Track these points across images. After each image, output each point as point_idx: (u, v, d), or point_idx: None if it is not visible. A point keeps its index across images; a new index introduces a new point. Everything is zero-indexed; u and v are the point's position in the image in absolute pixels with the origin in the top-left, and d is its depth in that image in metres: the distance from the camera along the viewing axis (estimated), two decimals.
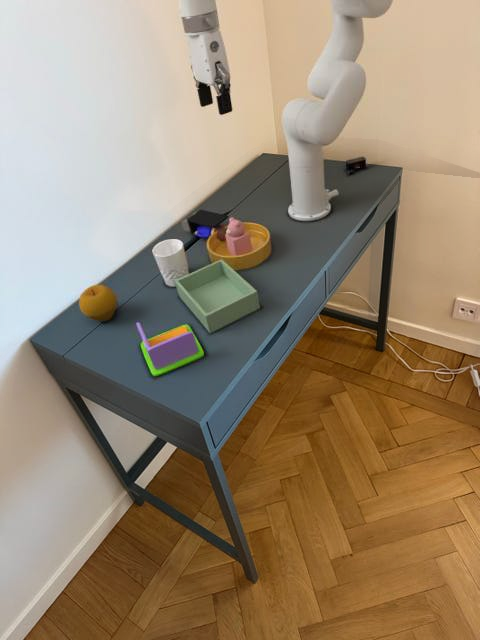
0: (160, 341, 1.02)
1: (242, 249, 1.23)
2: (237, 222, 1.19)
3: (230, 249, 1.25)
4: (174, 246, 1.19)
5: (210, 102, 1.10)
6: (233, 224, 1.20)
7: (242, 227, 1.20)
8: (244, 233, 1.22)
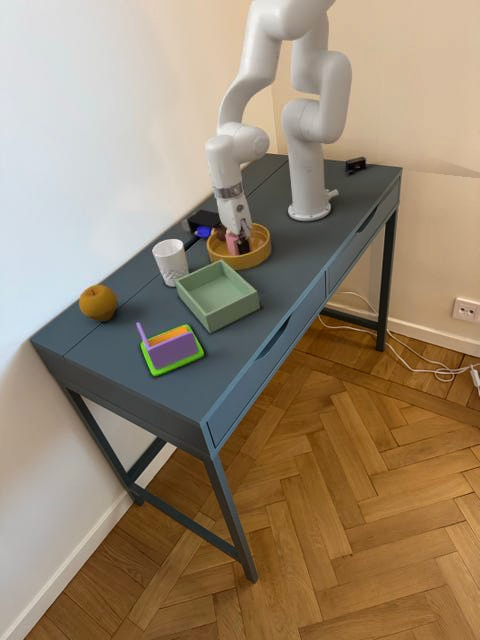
0: (160, 341, 1.02)
1: None
2: None
3: (230, 249, 1.25)
4: (174, 245, 1.19)
5: None
6: None
7: None
8: None
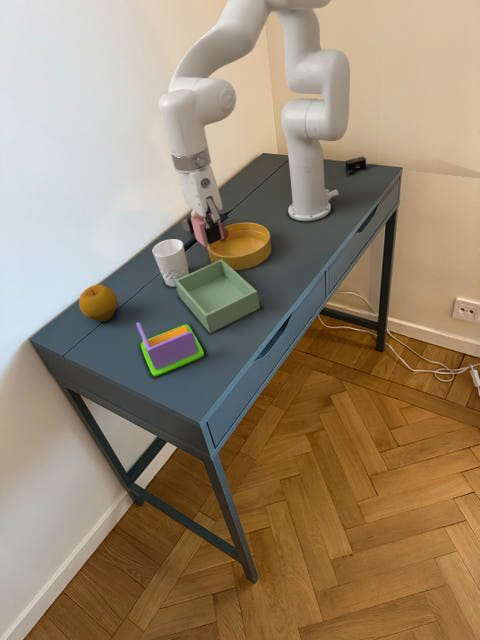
0: (160, 341, 1.02)
1: None
2: None
3: (197, 235, 1.03)
4: (174, 245, 1.19)
5: None
6: None
7: None
8: None
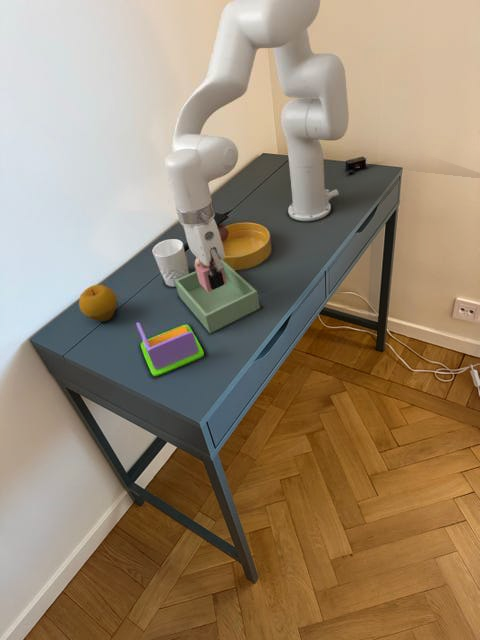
0: (160, 341, 1.02)
1: None
2: None
3: (200, 280, 1.07)
4: (174, 246, 1.19)
5: None
6: None
7: None
8: None
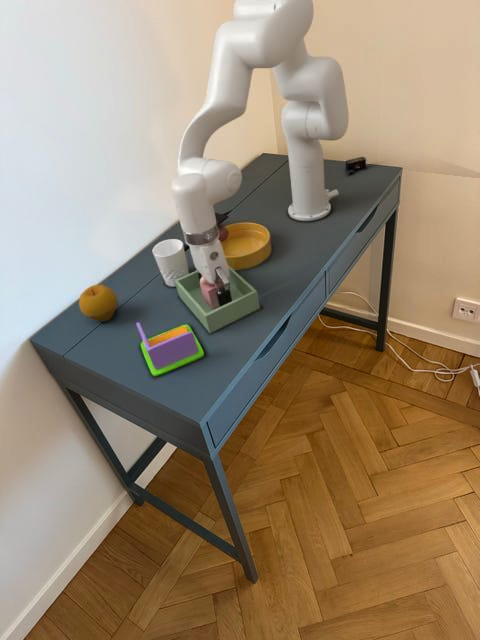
0: (160, 341, 1.02)
1: None
2: None
3: (205, 298, 1.10)
4: (174, 246, 1.19)
5: None
6: None
7: None
8: None
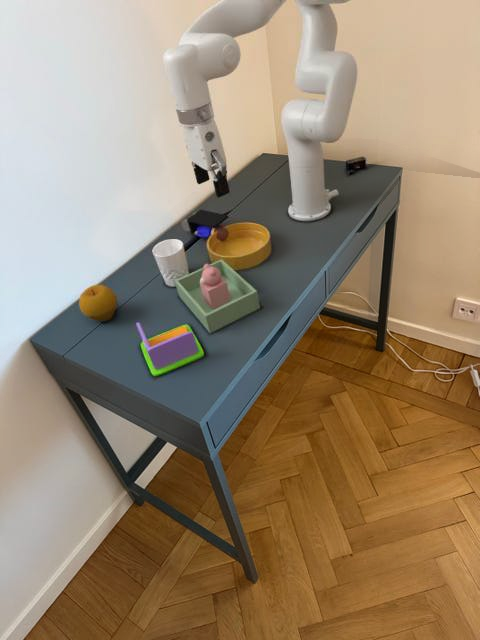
0: (160, 341, 1.02)
1: (219, 299, 1.08)
2: (212, 270, 1.04)
3: (205, 298, 1.10)
4: (174, 246, 1.19)
5: (207, 179, 1.10)
6: (208, 273, 1.05)
7: (218, 275, 1.05)
8: (221, 281, 1.07)
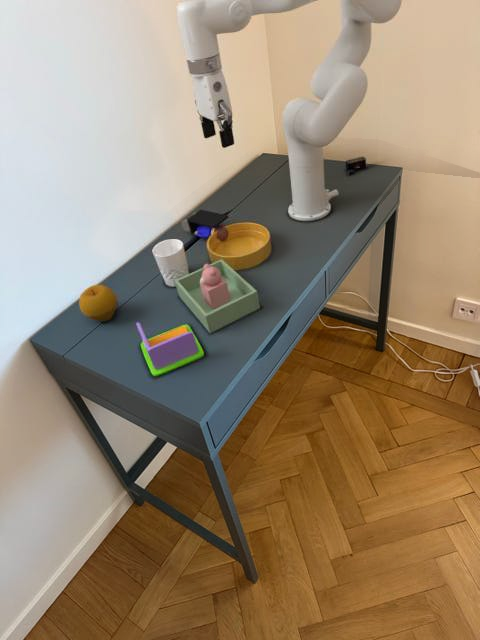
0: (160, 341, 1.02)
1: (219, 299, 1.08)
2: (212, 270, 1.04)
3: (205, 298, 1.10)
4: (174, 245, 1.19)
5: (213, 134, 1.17)
6: (208, 273, 1.05)
7: (218, 275, 1.05)
8: (221, 281, 1.07)
